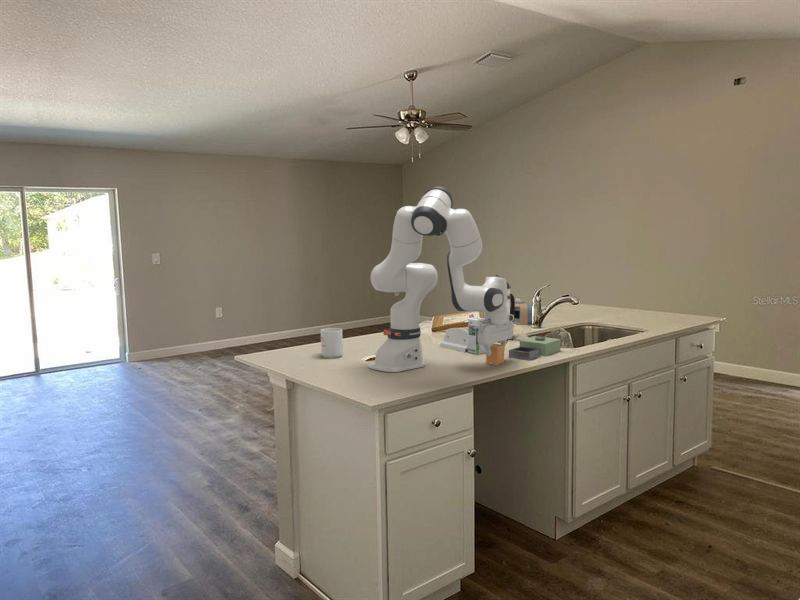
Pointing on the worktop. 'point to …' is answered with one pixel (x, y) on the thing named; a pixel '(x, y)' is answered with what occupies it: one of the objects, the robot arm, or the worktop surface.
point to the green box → (542, 344)
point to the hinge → (455, 339)
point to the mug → (331, 342)
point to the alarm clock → (522, 313)
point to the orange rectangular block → (496, 354)
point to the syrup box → (474, 336)
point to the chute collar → (524, 353)
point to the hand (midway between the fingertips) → (495, 353)
